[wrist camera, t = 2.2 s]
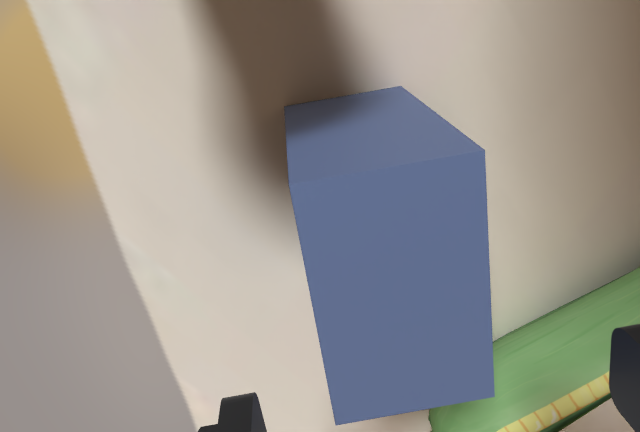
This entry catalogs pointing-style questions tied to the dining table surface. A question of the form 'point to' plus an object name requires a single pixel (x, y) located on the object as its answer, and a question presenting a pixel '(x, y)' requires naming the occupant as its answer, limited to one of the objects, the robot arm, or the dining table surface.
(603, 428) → the dining table surface
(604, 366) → the edible corn
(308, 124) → the blue carton
